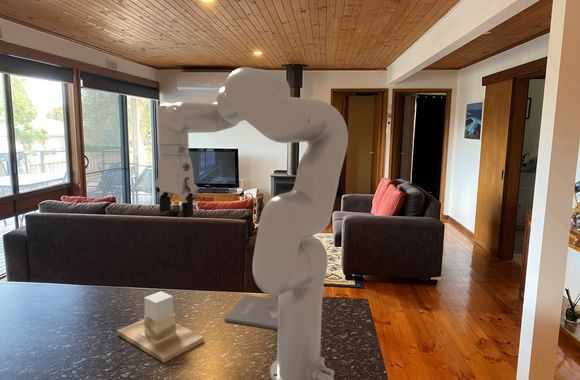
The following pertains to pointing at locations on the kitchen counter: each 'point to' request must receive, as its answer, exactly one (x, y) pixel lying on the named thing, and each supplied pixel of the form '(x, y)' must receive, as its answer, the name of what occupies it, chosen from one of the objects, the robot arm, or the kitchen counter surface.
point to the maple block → (160, 327)
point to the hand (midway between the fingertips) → (176, 214)
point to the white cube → (158, 306)
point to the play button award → (255, 312)
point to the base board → (161, 341)
